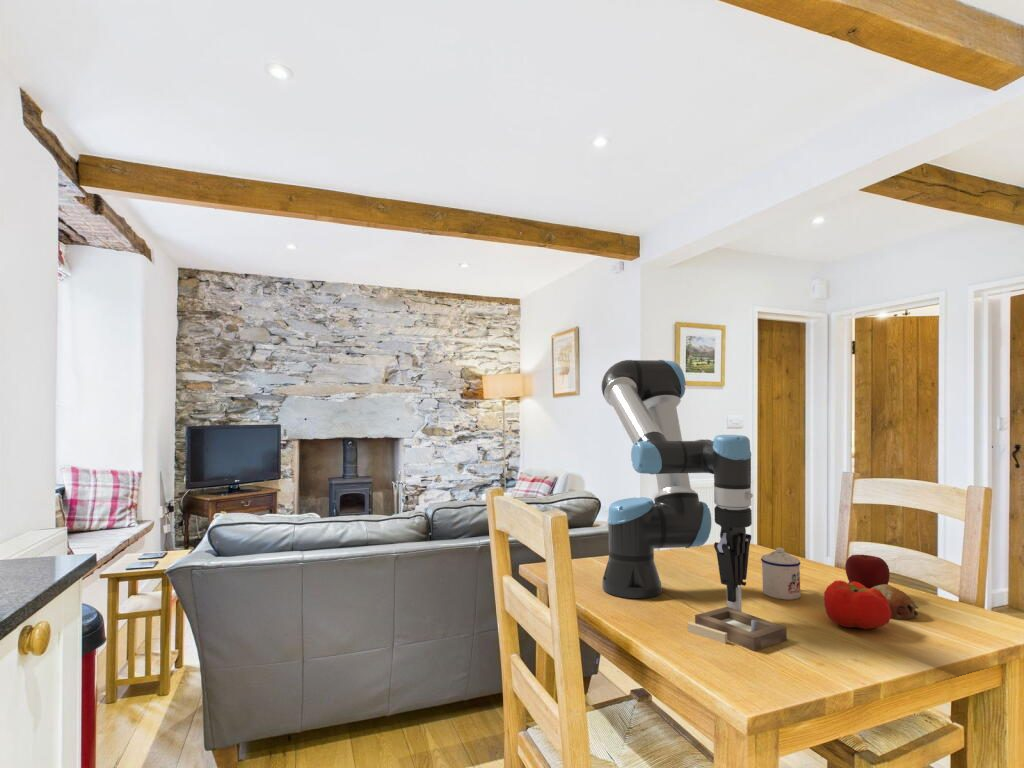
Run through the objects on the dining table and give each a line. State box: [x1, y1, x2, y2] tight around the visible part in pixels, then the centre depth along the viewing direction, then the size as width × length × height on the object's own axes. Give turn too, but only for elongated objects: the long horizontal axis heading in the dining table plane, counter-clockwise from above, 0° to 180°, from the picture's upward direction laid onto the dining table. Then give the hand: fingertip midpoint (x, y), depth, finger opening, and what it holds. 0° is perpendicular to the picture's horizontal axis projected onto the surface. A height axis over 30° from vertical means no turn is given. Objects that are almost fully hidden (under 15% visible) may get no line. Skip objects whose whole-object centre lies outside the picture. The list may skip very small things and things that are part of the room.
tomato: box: [823, 579, 891, 630], centre depth 121 cm, size 14×13×9 cm
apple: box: [845, 554, 890, 589], centre depth 142 cm, size 10×10×10 cm
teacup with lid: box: [760, 547, 801, 601], centre depth 143 cm, size 12×9×12 cm
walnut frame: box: [694, 606, 788, 652], centre depth 113 cm, size 14×10×2 cm
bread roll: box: [872, 583, 919, 621], centre depth 129 cm, size 10×10×8 cm
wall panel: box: [686, 620, 758, 644], centre depth 114 cm, size 22×16×5 cm
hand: (734, 615), depth 121 cm, fingers closed
